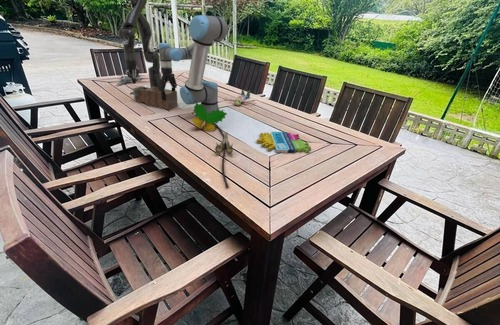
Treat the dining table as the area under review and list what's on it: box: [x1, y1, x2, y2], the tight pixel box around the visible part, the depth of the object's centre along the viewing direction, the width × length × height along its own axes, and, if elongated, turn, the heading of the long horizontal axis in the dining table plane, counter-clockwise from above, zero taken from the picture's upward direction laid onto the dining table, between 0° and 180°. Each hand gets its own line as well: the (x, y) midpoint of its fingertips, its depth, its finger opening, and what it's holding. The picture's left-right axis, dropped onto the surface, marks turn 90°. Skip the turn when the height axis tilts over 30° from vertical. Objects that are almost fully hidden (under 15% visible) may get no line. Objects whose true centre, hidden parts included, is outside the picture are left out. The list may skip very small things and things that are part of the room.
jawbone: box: [214, 131, 234, 156], centre depth 136 cm, size 9×15×10 cm
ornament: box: [191, 102, 228, 132], centre depth 162 cm, size 21×8×15 cm, turn 105°
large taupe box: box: [144, 87, 179, 111], centre depth 196 cm, size 21×11×12 cm, turn 68°
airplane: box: [114, 66, 148, 87], centre depth 254 cm, size 38×31×10 cm
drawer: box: [129, 85, 149, 103], centre depth 200 cm, size 25×10×10 cm, turn 68°
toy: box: [223, 89, 257, 106], centre depth 219 cm, size 28×7×30 cm
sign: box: [256, 131, 312, 154], centre depth 152 cm, size 26×2×30 cm
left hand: (134, 83), depth 199 cm, fingers closed
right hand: (169, 98), depth 193 cm, fingers closed on large taupe box, 11 cm apart
